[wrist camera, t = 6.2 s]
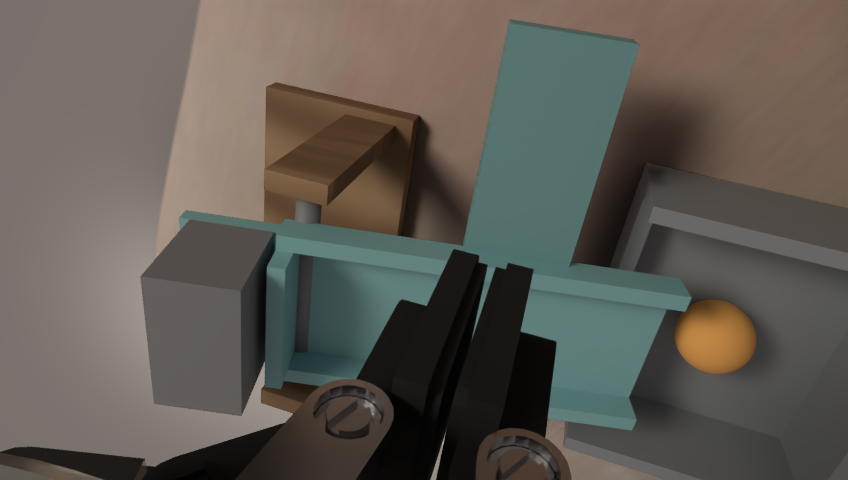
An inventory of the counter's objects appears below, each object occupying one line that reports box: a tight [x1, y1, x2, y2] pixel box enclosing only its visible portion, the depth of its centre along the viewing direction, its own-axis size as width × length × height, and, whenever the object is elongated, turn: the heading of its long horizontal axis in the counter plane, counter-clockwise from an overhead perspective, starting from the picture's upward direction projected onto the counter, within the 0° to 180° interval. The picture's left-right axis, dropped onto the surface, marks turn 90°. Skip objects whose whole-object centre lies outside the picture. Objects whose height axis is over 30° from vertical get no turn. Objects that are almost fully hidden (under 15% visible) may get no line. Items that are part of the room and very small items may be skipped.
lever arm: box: [141, 19, 692, 430], centre depth 26 cm, size 20×24×6 cm
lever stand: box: [261, 83, 419, 413], centre depth 34 cm, size 15×9×10 cm, turn 171°
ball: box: [674, 300, 756, 374], centre depth 32 cm, size 4×4×4 cm
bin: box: [563, 162, 848, 480], centre depth 32 cm, size 16×14×6 cm
